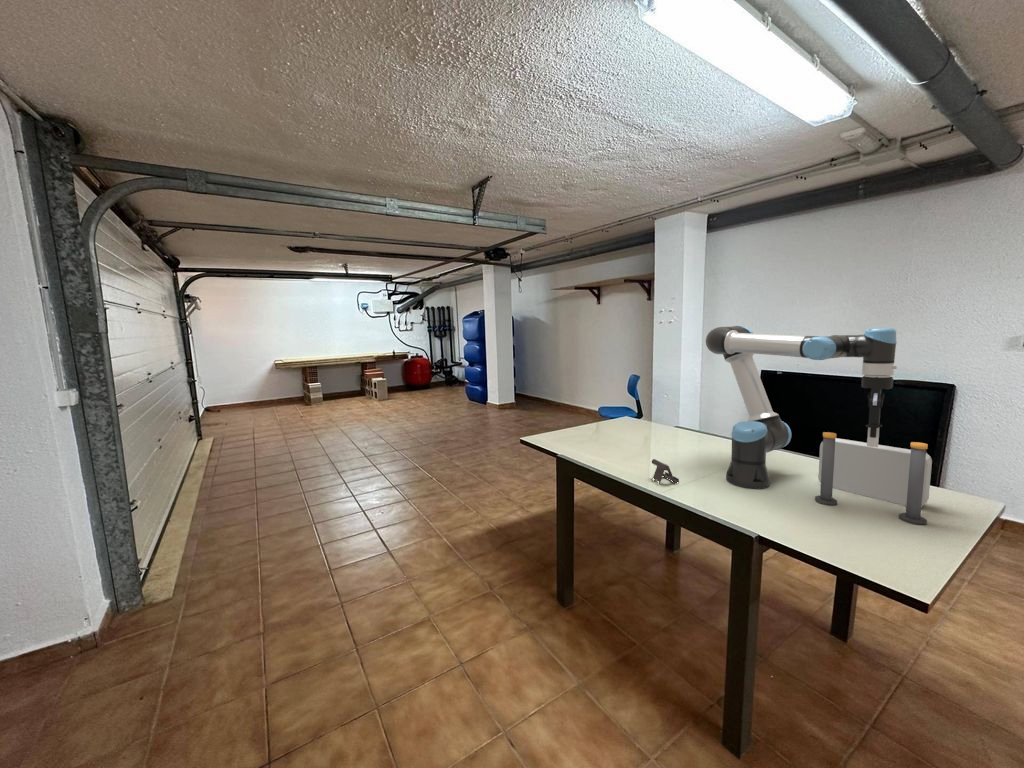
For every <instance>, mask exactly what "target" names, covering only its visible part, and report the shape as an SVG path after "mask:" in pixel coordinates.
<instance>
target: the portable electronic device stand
mask: <svg viewBox="0 0 1024 768" xmlns="http://www.w3.org/2000/svg"><path fill="white" fill-rule="evenodd" d="M651 464H652V465H654V466H656V469H655V472H654V474H653V476H652V479H653V478H654V479H655V481H656V482H657V481H659V482H660V483H661V481H662V479H663V478H664V477H666V478H668V479H670V480H672V481H673V482H674V483H673V482H672V483H673V484H675V483H677V482H679V483H680V480H679V478H678V477H676V476H674V475H673V473H672V472H671V469H670V466H669V465H667V464H666V463H663V462H661V461H659V460H657V459H655V458H653V459H652V460H651ZM662 476H664V477H662ZM666 478H665V479H666ZM668 479H667V480H668ZM670 480H669V481H670Z"/></svg>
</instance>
